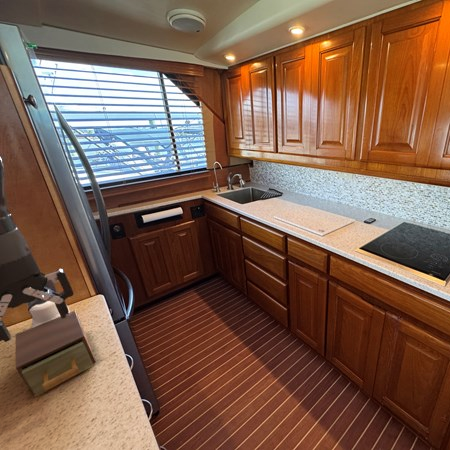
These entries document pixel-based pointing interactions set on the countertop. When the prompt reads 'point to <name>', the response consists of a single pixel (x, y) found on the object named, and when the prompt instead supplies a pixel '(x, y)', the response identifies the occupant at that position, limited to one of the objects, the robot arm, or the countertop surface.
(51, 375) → the drawer
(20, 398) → the countertop surface
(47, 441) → the countertop surface
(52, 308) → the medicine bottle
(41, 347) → the cabinet
